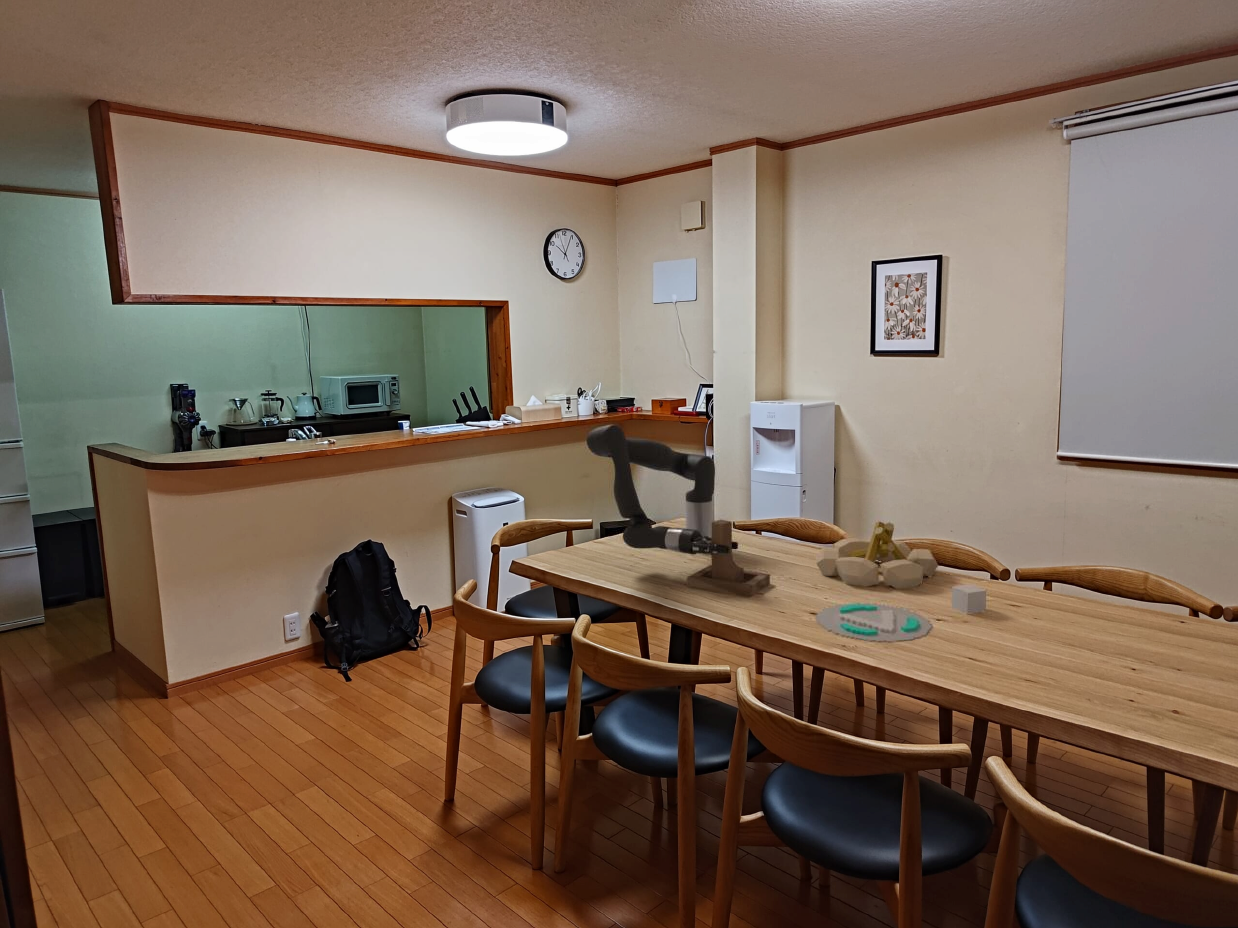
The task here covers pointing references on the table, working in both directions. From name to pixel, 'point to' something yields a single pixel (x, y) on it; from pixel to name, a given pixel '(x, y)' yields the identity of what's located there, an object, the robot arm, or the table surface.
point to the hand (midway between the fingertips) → (733, 547)
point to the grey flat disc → (873, 622)
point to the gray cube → (969, 598)
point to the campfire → (859, 555)
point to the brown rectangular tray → (729, 582)
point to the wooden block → (724, 554)
